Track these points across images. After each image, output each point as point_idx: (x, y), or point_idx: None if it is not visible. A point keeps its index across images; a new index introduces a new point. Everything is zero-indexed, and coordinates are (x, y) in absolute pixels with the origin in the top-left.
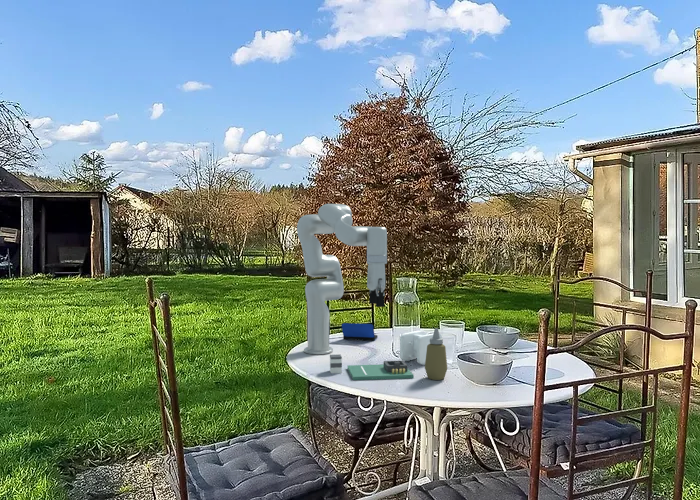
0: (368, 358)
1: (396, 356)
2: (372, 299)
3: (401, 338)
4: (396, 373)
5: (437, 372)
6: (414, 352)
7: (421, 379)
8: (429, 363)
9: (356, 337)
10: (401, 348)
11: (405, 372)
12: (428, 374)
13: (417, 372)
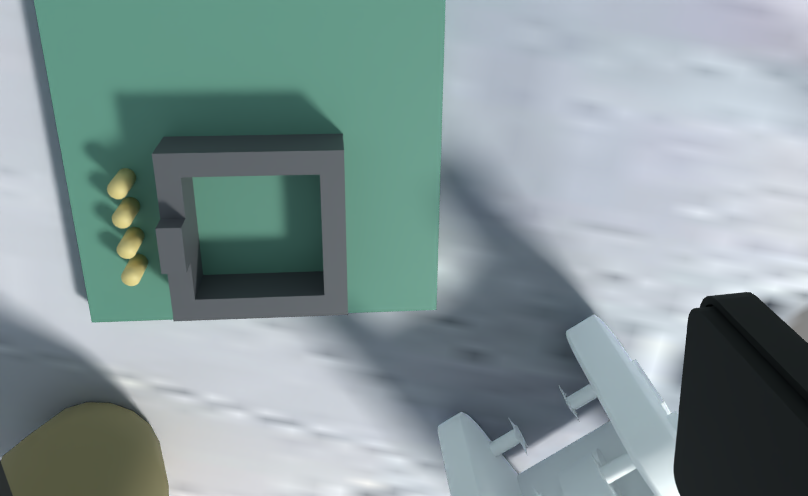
0: (773, 63)
1: None
2: (738, 429)
3: (638, 425)
4: (120, 203)
5: None
6: (616, 442)
7: (67, 354)
8: None
9: None
10: (603, 368)
11: (164, 277)
12: (54, 419)
13: (262, 363)
